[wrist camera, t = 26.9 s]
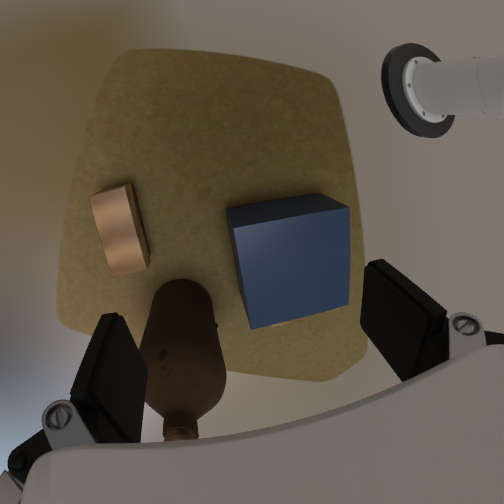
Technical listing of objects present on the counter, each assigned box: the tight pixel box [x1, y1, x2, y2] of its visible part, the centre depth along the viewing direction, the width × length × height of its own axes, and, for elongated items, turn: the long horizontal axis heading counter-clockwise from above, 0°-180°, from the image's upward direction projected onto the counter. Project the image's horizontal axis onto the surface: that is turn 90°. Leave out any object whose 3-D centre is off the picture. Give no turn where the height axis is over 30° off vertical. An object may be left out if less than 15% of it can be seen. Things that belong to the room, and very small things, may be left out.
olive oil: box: [139, 280, 226, 442], centre depth 31 cm, size 11×11×25 cm
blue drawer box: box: [225, 193, 350, 330], centre depth 38 cm, size 15×14×9 cm
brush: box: [89, 183, 151, 277], centre depth 34 cm, size 11×5×5 cm, turn 8°
